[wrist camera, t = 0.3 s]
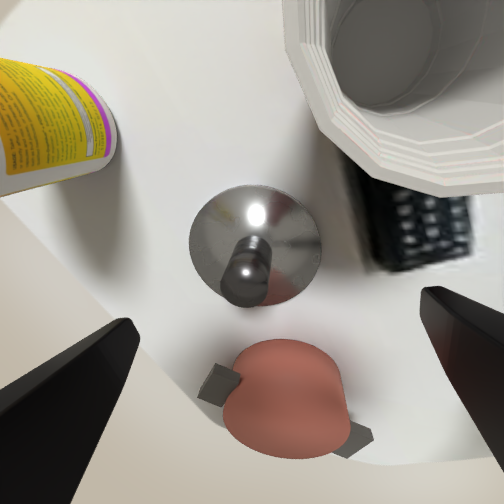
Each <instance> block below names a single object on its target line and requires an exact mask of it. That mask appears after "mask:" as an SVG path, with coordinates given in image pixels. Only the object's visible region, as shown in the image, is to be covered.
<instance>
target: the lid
mask: <svg viewBox="0 0 504 504" xmlns="http://www.w3.org/2000/svg"><path fill="white" fill-rule="evenodd" d="M189 250H190V256H191V259H192V262H193V265H194V267H195V269H196V271H197V272H198V274H199V276H200V277H201V278H202V280H203V281H204V282H205V283H206V284H207V285H208V286H209V287H210V288H211V289H212V290H214V291H215V292H216V293H218V294H219V295H221V296H223V297H224V298H225V299H226V300H227V301H229V302H230V303H231V304H233V305H236V306H238V307H244V308H249V307H254V306H268V305H274V304H278V303H281V302H284V301H286V300H289V299H291V298H292V297H294V296H296V295H297V294H299V293H300V292H301V291H302V290H304V289H305V288H306V287H307V286H308V284H309V283H310V282H311V281H312V279H313V277H314V276H315V274H316V272H317V269H318V267H319V263H320V258H321V242H320V237H319V233H318V230H317V227H316V224H315V222H314V220H313V218H312V217H311V215H310V214H309V212H308V211H307V210H306V209H305V207H304V206H303V205H302V204H301V203H300V202H298V201H297V200H296V199H295V198H293V197H292V196H290V195H288V194H287V193H285V192H283V191H280V190H278V189H275V188H272V187H268V186H262V185H243V186H237V187H234V188H230V189H228V190H225V191H223V192H221V193H219V194H218V195H216V196H214V197H213V198H212V199H211V200H210V201H208V202H207V203H206V204H205V206H204V207H203V208H202V209H201V210H200V211H199V213H198V214H197V216H196V217H195V220H194V222H193V224H192V227H191V230H190V236H189Z"/></svg>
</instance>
